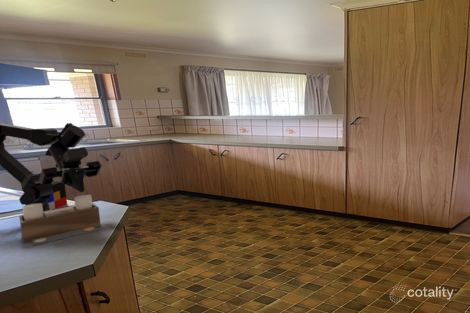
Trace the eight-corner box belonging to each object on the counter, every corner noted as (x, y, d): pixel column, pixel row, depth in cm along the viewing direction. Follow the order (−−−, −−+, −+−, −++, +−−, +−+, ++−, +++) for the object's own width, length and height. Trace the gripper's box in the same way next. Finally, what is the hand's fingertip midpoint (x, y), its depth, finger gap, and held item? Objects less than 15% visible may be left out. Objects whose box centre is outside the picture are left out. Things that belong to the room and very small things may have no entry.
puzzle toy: (48, 211, 123) (45, 186, 121) (27, 211, 125) (24, 186, 123) (67, 204, 132) (64, 181, 131) (47, 204, 134) (44, 181, 133)
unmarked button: (24, 225, 96) (22, 205, 95) (43, 221, 99) (41, 202, 98) (25, 229, 92) (22, 208, 91) (45, 225, 95) (42, 205, 94)
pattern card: (31, 241, 91) (31, 239, 91) (94, 227, 101) (94, 225, 101) (33, 245, 87) (32, 243, 87) (97, 230, 97) (97, 228, 97)
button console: (21, 234, 97) (19, 216, 96) (94, 219, 109) (92, 202, 109) (23, 243, 90) (20, 223, 89) (100, 225, 102) (98, 207, 101)
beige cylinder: (75, 215, 104) (73, 196, 103) (91, 211, 107) (89, 194, 106) (78, 218, 100) (75, 199, 99) (94, 215, 103) (92, 196, 102)
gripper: (38, 143, 97) (58, 181, 91) (95, 138, 111) (116, 170, 106) (31, 167, 102) (50, 204, 97) (87, 159, 117) (106, 191, 112)
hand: (82, 191), depth 103 cm, fingers closed
